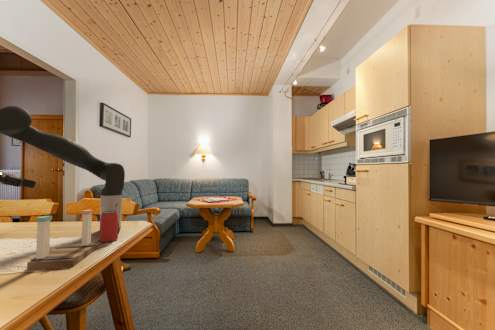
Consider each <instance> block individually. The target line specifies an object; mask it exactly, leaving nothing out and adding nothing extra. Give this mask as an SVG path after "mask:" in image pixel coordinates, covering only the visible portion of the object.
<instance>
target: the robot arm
mask: <svg viewBox="0 0 495 330" xmlns="http://www.w3.org/2000/svg"><path fill="white" fill-rule="evenodd" d="M32 123H33V117H32V114H31V113H30V112H29V111H28V110H27V109H26V108H23V107H22V106H16V105H7V106H5V107H2V108H0V134H2V135H4V136H7V137H9V138H12V139H14V140H17V141H20V142H23V143H26V144H27V145H30V146H33V147H35V148H36V149H39V150H41V151H42V152H45V153H48V154H49V155H51V156H53V157H56V158H57V159H59V160H61V161H64V162H66V163H67V164H70V165H72V166H76V167H77V168H81V169H82V170H85V171H88V172H89V173H91V174H93V175H94V176H95V177H97V178H99V179H101V180H103V181H104V182H105V184H104V187H103V188H101V189H100V207H99V209H100V210H99V218H100V217H101V214H102V212H104V211H114V210H116V211H117V214H118V222H119V227H120V230H121V229H122V207H123V206H122V204H123V203H122V198H123V196H122V195H123V191H124V187H125V176H126V175H125V174H126V173H125V169H124V166H123V165H122V164H121V163H117V162H106V161H104V160H102V159H99V158H97V157H95V156H94V155H92V153H90V152H89V151H88V149H86V148H85V147H84V146H82V144H80V143H78V142H76V141H74V140H72V139H70V138H68V137H66V136H62V135H60V134H56V133H55V134H54V133H50V132H47V131H43V130H40V129H37V128H36V127H34V126H32V125H31V124H32ZM0 185H4V186H12V187H17V188H21V187H24V188H31V189H34V188H35V187H36V185H37V181H35V180H31V179H27V178H23V177H22V176H16V175H14V174H11V173H7V172H3V171H1V170H0ZM117 203H118V204H119V205H118V204H117ZM115 204H117V206H116V209H115Z"/></svg>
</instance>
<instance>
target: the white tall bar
mask: <svg viewBox="0 0 495 330" xmlns="http://www.w3.org/2000/svg"><path fill="white" fill-rule="evenodd" d="M80 213H81V215H82V217H81V218H82V220H81V221H82V223H81V244H82V246H87V245H89V244H90V243H92V221H93V220H92V219H93V214H94V209H84V210H81V211H80Z"/></svg>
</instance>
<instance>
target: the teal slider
mask: <svg viewBox="0 0 495 330" xmlns="http://www.w3.org/2000/svg"><path fill="white" fill-rule="evenodd" d="M52 220H53V215H42V216H37V217H35V223H36V224H37V225H36V248H35V257H36V259H43V258H45V257H47V256H49V251H50V238H51V237H50V236H51V221H52Z"/></svg>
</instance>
